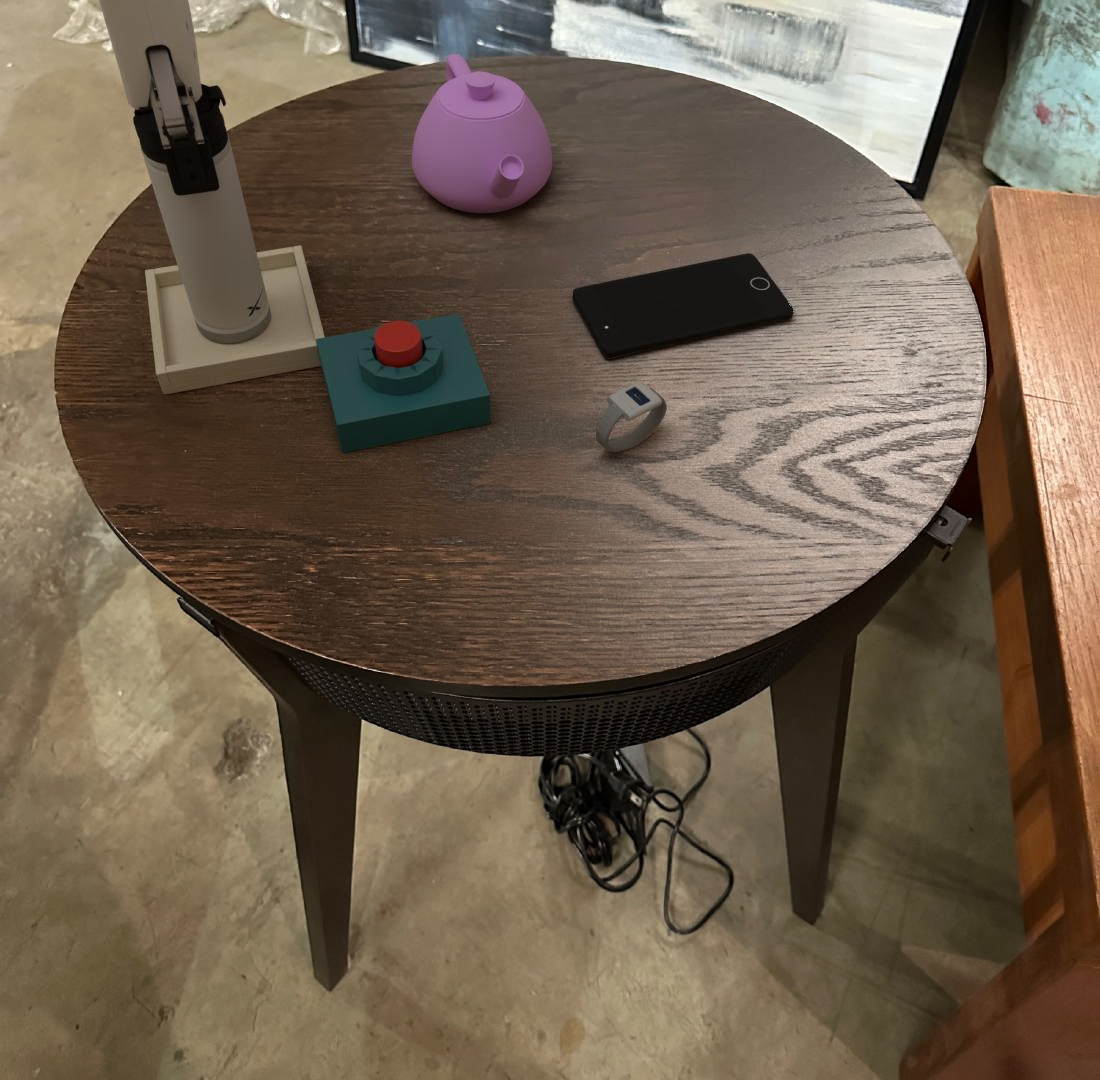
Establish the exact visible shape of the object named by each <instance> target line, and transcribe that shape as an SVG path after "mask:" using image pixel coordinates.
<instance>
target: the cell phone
mask: <svg viewBox="0 0 1100 1080" xmlns="http://www.w3.org/2000/svg"><path fill="white" fill-rule="evenodd" d="M771 278H772V277H771V276H770V274H769V273H768V271H767V270H766V268H765V267H764V266H763V264H761V262H760V261H759V259H758V258H757V257H756V256H755V254H753V253H750V252H749V253H748V252H747V253H742V254H737V255H732V256H728V257H727V256H726V257H721V258H717V259H712V260H707V261H702V262H698V263H693V264H687V265H682V266H677V267H673V268H667V269H663V270H657V271H652V272H647V273H643V274H638V275H633V276H627V277H623V278H618V279H613V280H608V281H603V282H597V283H592V284H588V285H584V286H580V287H575V288H574V289H573V290H572V301H573V303H574V306H575V307H576V309H577V311H578V313H579V314H580V317H581V318H582V320H583V322H584V324H585V325H586V327H587V329H588V332H589V333H590V335H591V337H592V338H593V341H594V343H595V344H596V346H597V348H598V349H599V351H600V354H601V355H602V356H603V357H604V358H605V359H607V360H611V359H615V358H619V357H624V356H628V355H632V354H636V353H637V354H638V353H641V352H646V351H650V350H654V349H655V350H656V349H660V348H664V347H669V346H673V345H674V346H675V345H678V344H682V343H683V344H684V343H687V342H691V341H697V340H700V339H705V338H709V337H710V338H711V337H714V336H719V335H723V334H727V333H732V332H737V331H742V330H746V329H751V328H755V327H759V326H763V325H769V324H772V323H778V322H783V321H789V320H792V319H793V316H794V314H795V309H794V307H793V306H792V304H791V302H789V300H788V299H787V297H786V296H785V294H784V293H783V292H782V291H781V289H780V288H779V287H778V285H777V284H776V283H775V281H774V280H773V278H772V279H771ZM788 302H789V303H788ZM789 304H790V305H791V306H790V305H789ZM792 307H793V308H792ZM793 309H794V310H793ZM793 311H794V312H793Z"/></svg>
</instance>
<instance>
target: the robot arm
mask: <svg viewBox="0 0 1100 1080" xmlns="http://www.w3.org/2000/svg"><path fill="white" fill-rule="evenodd" d="M98 2H99V5H100V9H101V13H102V15H103V19H104V23H105V25H106V30H107V33H108V36H109V40H110V44H111V47H112V49H113V54H114V56H115V57H114V58H115V60H116V64H117V67H118V70H119V74H120V78H121V81H122V84H123V88H124V93H125V96H126V100H127V103H128V105H129V106H130V107H131V108H132V109H134V110H135V109H136V110H139V109H140V107H147V106H148V101H149V96H150V99H151V105H152V107H153V111H154V115H155V118H156V122H157V126H158V130H159V133H160V137H161V141H162V142H160V147H161V150H162V154H163V157H164V160H165V164H166V167H167V170H168V174H169V177H170V180H171V184H172V187H173V191H174V193H175V194H176V195H178V196H183V195H190V194H197V193H204V192H211V191H216V190H218V189H219V187H220V186H219V180H218V177H217V173H216V169H215V165H214V161H213V157H212V153H211V149H210V145H209V141H208V138H207V136H203V134H202V130H201V126H200V121H199V117H198V113H197V109H196V105H195V102H197V101H198V100H199V99H200V97H201V96H202V88H201V84H202V81H201V80H202V79H201V71H200V64H199V63H200V62H199V57H198V51H197V50H198V49H197V48H198V47H197V41H196V35H195V29H194V24H193V17H192V12H191V11H192V10H191V6H190V2H189V0H98ZM184 85H185V89H186V94H184V95H179V94H178V89H177V86H184ZM156 90H157V92H158V96H159V98H157V96H156V92H155V91H156ZM186 105H187V107H188V111H189V115H190V119H191V121H190V120H189V118H185V117H184V114H183V110H182V106H186Z"/></svg>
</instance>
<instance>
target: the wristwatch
mask: <svg viewBox="0 0 1100 1080" xmlns="http://www.w3.org/2000/svg"><path fill="white" fill-rule="evenodd" d="M606 402H607V404H608V405H610V406H609V407H608V408H607V409H606V410H605V412H604V413H603V415H602V416H601V418H600V420H599V421H598V424H597V427H596V429H595V439H596V441H597V442H598V443H599V444H600V445H601V446H602V447H603V448H604V450H606V451H608V452H610V453H611V452H612V453H620V452H625V451H627V450H630V449H632V448H635V447H636V446H638V445H640V444H641V443H643V442H644V441H645V440H646V439H648V438H649V437H650V436H651V435H652V434H653V433H654V431H655V430H656V429H657V428H658V427H659V426H660V424H661V423H662V421H663V420H664V418H665V416H666V414H667V409H668V407H667V401H666V400H665V399H664V397H662V395H660V393H658V392H657V391H656V390H655V389H654V388H652V387H649V386H648V385H646V383H644V381H642V380H639V381H636V382H634V383H632V384H630V385H628V386H627V387H625V388H623V389H620V390H619V391H616V392H615V393H612V394H611V395H609V396H607V397H606ZM648 412H649V413H648ZM646 413H648V414H647V415H646V416H645V418H644V419H643V420H642V421H641V422H640V423H639V424H638V426H636V427H635V428H634V429H632V430H631V431H630V432H628V433H627V434H625V435H623V436H621V437H618V438H615V439H610V436H611V433H612V431H613V429H614V428H615V426H616V424H617V423H618V421H619V420H620V419H621V418H623V419H624V420H625V421H627V422H628V423H629V422H631V421H633V420H635V419H637V418H639V417H640V416H643V415H644V414H646Z"/></svg>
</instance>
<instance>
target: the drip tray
mask: <svg viewBox="0 0 1100 1080" xmlns="http://www.w3.org/2000/svg"><path fill="white" fill-rule="evenodd" d="M256 252H257V257H258V261H259V265H260V269H261V273H262V277H263V282H264V286H265V290H266V294H267V299H268V303H269V307H270V311H271V319H270V322H269V324H268V325H267V327H266V328H265V329H264V330H263V331H262V332H261V333H260V334H258V335H257V336H255V337H253V338H251V339H249V340H246V341H242V342H237V343H220V342H216V341H212V340H210V339H208V338H206V337H205V336H204V335H202V334H201V333H200V331H199V330H198V328H197V325H196V322H195V319H194V316H193V312H192V310H191V306H190V303H189V300H188V297H187V294H186V291H185V287H184V284H183V281H182V278H181V275H180V272H179V268H178V265H177V264H176V265H170V266H169V265H168V266H164V267H156V268H150V269H145V270H144V275H145V285H146V292H147V293H146V295H147V304H148V312H149V321H150V331H151V341H152V351H153V359H154V367H155V376H156V378H157V381H158V383H159V386H160V389H161V392H162V394H163V396H164V395H171V394H175V393H181V392H186V391H191V390H198V389H202V388H203V389H204V388H208V387H213V386H219V385H224V384H230V383H235V382H242V381H247V380H251V379H257V378H263V377H269V376H273V375H280V374H284V373H285V374H286V373H290V372H296V371H302V370H307V369H311V368H318V367H321V363H320V358H319V353H318V348H317V343H316V339H319V338H324V337H326V336H325V332H324V329H323V325H322V320H321V316H320V313H319V310H318V309H319V308H318V304H317V301H316V297H315V293H314V290H313V286H312V282H311V279H310V278H311V277H310V274H309V271H308V265H307V263H306V258H305V255H304V251H303V247H302V245H294V246H288V247H282V248H276V249H269V250H263V251H256Z"/></svg>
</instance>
